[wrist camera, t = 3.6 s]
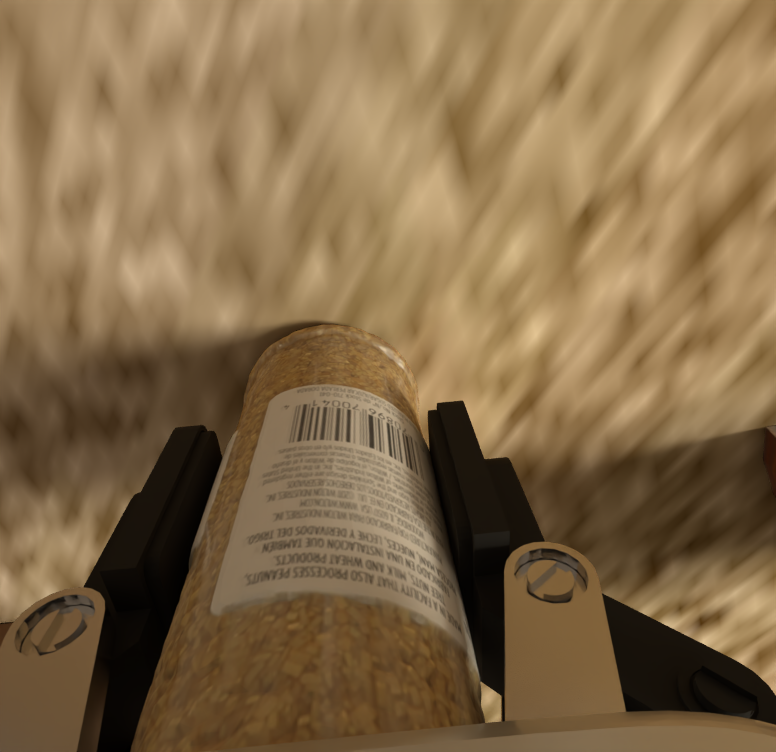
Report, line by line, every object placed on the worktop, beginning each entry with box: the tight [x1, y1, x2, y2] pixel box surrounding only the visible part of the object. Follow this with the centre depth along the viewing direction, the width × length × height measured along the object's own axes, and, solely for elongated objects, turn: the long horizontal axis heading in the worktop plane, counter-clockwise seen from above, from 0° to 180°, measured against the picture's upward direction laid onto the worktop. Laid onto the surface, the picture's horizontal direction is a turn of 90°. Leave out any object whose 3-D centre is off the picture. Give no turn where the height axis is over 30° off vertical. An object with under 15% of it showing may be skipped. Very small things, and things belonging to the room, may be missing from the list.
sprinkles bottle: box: [130, 324, 485, 752], centre depth 9 cm, size 5×5×13 cm
